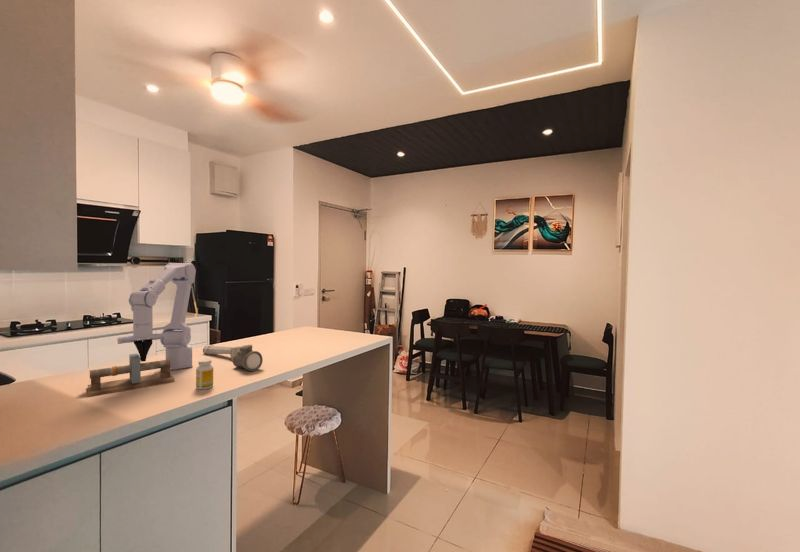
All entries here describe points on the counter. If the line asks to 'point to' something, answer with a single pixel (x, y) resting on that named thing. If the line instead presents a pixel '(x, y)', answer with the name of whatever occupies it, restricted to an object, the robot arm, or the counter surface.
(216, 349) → the grey handle
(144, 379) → the pipe stand
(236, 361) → the pipe fitting
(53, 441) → the counter surface
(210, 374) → the supplement bottle
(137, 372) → the collar
